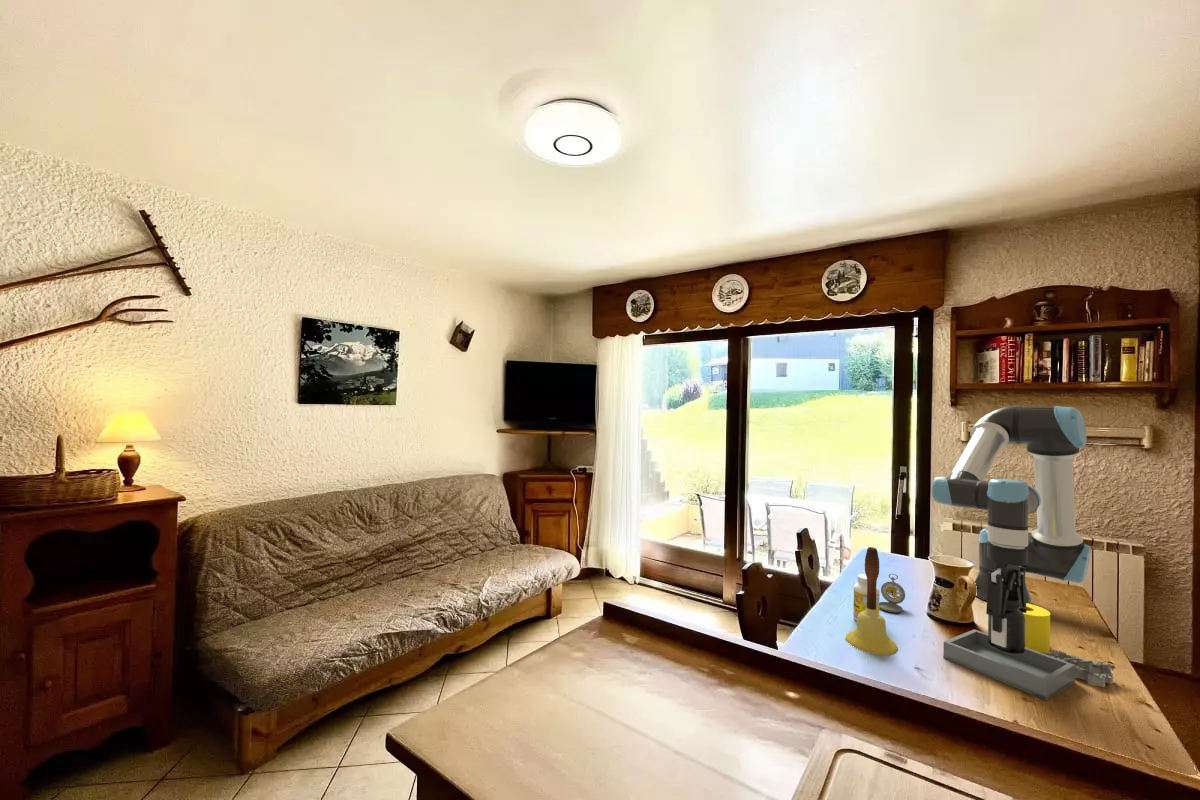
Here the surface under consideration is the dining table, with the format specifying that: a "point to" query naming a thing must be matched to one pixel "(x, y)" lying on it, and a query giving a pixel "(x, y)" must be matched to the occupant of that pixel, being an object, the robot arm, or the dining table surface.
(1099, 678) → the egg carton
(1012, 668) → the tray
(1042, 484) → the robot arm
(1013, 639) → the supplement bottle
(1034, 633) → the yellow toilet roll
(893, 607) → the pocket watch
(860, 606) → the supplement bottle
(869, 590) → the handbell
